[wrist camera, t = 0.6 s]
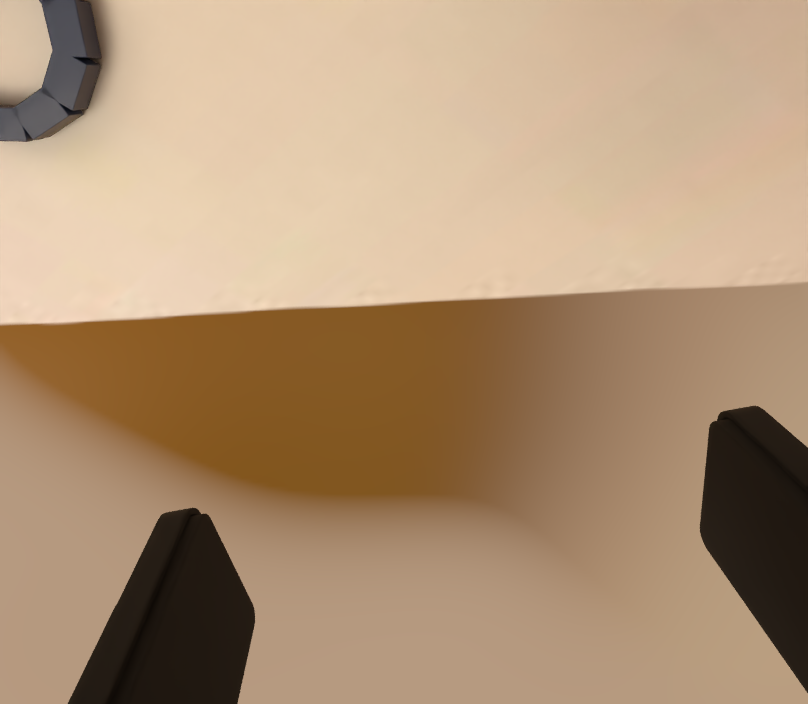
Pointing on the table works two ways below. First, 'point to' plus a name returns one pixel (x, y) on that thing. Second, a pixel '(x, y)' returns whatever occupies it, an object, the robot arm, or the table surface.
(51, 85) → the navy ring
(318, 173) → the table surface
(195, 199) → the table surface
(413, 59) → the table surface
